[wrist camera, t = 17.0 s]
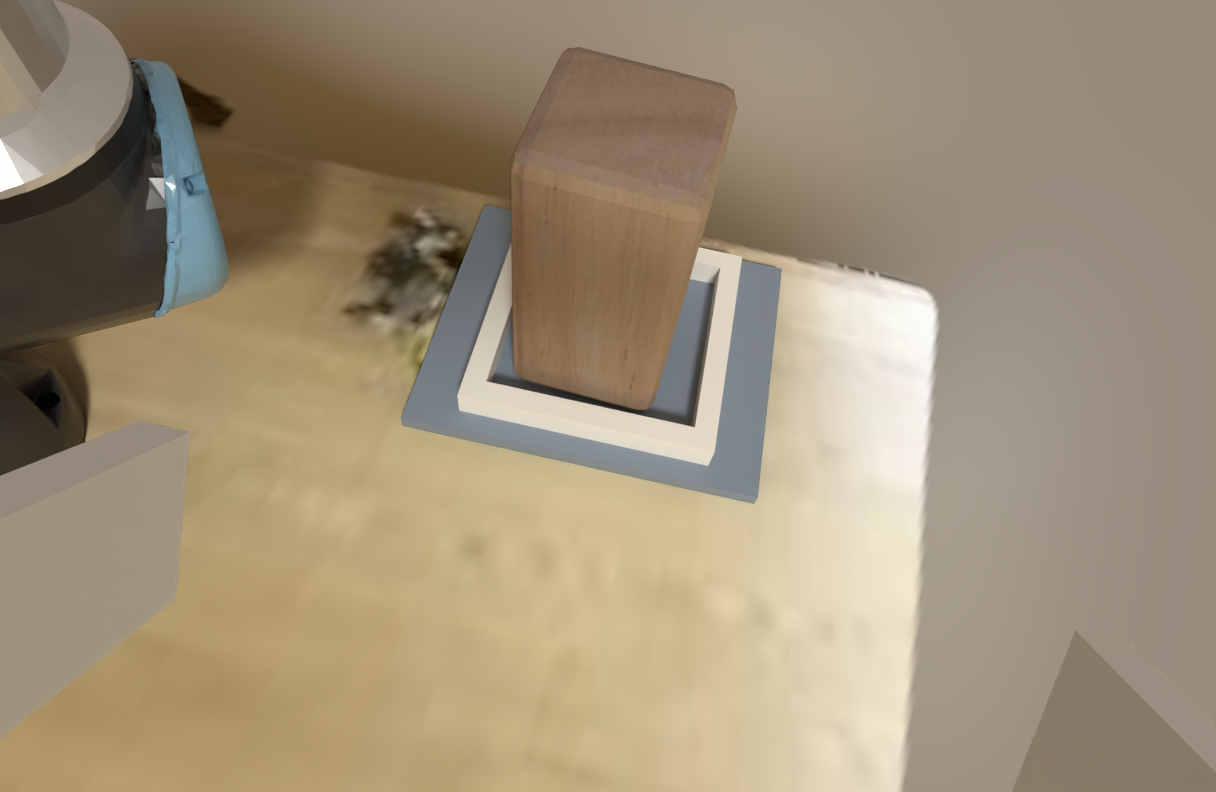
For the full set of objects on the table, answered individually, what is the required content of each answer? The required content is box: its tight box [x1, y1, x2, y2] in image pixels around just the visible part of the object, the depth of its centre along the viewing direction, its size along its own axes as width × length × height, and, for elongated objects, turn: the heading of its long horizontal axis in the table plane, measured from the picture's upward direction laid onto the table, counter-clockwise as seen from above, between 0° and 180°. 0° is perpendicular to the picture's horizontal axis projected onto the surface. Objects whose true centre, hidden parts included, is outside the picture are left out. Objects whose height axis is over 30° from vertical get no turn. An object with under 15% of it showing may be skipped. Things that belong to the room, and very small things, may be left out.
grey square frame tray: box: [401, 205, 782, 504], centre depth 56 cm, size 24×20×3 cm
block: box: [510, 47, 737, 412], centre depth 48 cm, size 10×10×20 cm
